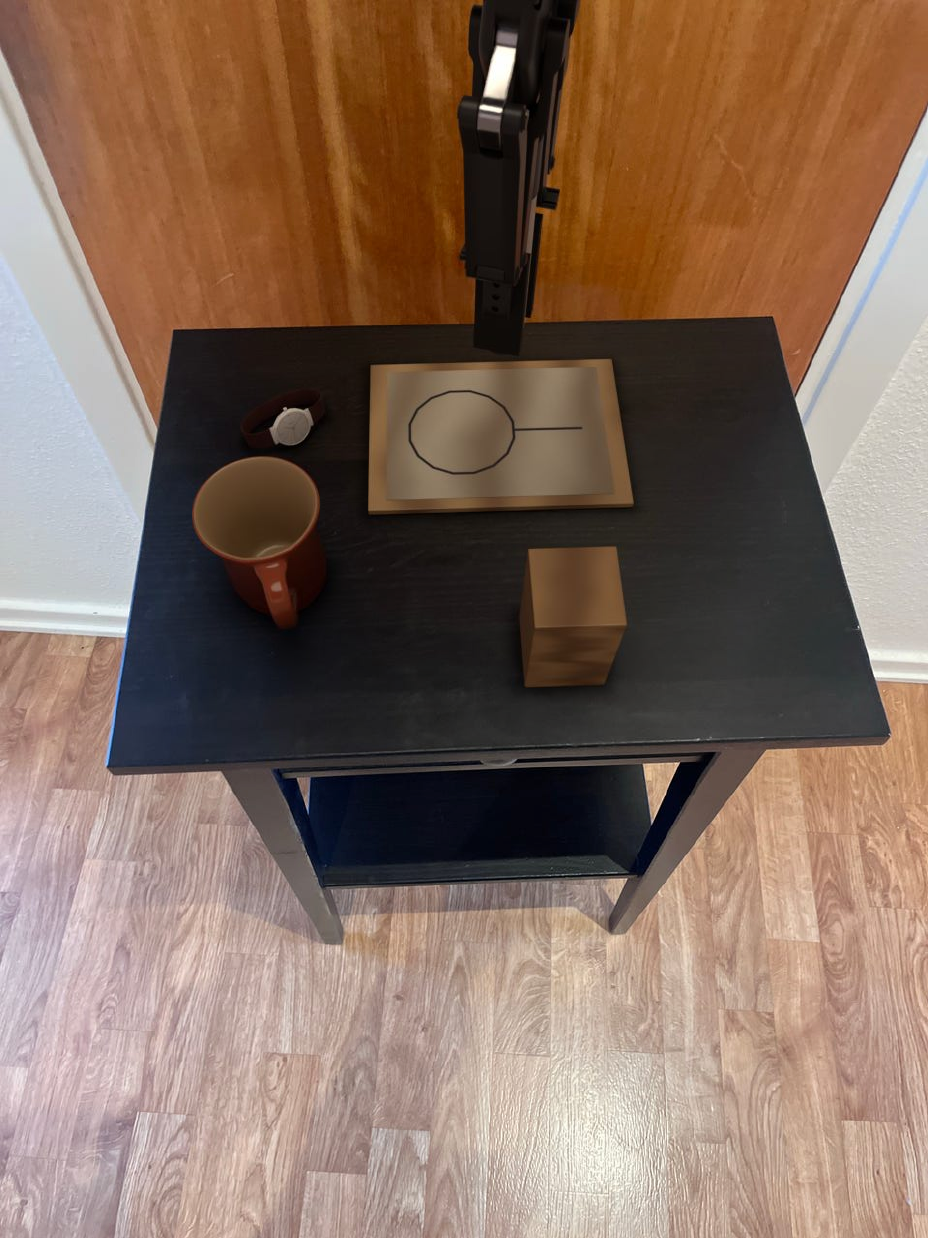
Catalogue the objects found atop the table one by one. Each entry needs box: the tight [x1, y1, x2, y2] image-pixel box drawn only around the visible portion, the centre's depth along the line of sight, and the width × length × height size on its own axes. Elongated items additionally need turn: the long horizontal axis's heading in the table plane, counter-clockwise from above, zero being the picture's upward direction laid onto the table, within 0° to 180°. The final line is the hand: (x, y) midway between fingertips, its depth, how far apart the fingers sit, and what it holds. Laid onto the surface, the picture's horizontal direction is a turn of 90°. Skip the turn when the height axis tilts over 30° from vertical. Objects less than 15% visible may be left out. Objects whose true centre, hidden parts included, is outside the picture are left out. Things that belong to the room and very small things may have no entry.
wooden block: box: [518, 546, 628, 688], centre depth 61 cm, size 6×6×10 cm
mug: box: [191, 455, 327, 630], centre depth 63 cm, size 12×9×10 cm
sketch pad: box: [367, 358, 634, 516], centre depth 75 cm, size 22×16×1 cm
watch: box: [239, 387, 326, 449], centre depth 74 cm, size 8×5×4 cm, turn 126°
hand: (503, 327), depth 50 cm, fingers closed on marker, 2 cm apart
